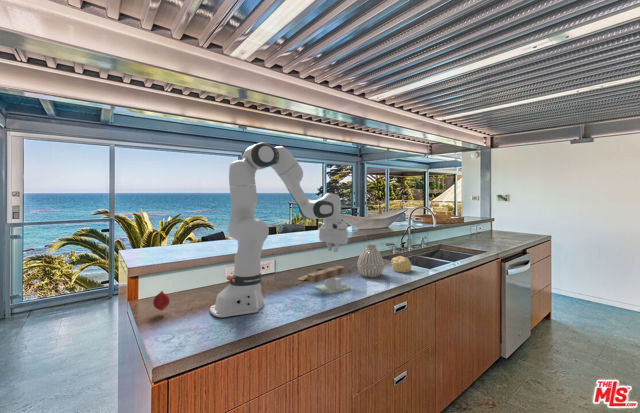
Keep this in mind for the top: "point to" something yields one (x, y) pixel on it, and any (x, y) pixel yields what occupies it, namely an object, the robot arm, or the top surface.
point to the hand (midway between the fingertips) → (332, 251)
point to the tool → (307, 275)
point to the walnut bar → (326, 274)
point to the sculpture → (401, 264)
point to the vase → (370, 262)
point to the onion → (161, 301)
